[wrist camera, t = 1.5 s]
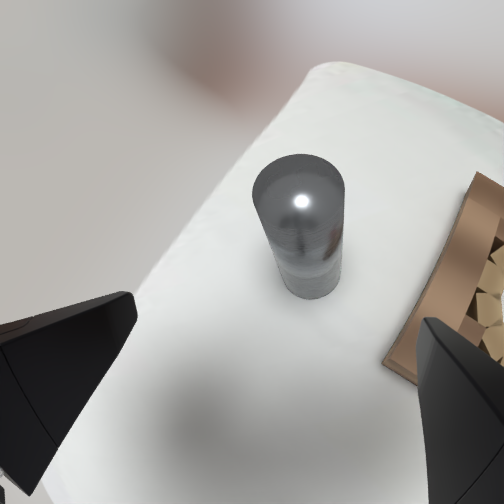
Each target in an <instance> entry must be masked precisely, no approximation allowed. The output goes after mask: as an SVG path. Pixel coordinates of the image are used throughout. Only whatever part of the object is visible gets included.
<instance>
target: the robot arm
mask: <svg viewBox="0 0 504 504" xmlns="http://www.w3.org/2000/svg"><path fill="white" fill-rule="evenodd" d="M137 318H138V314H137V309H136V305H135V300H134V296H133V294H132V293H130V292H125V291H119V292H116V293H112V294H109V295H105V296H102V297H98V298H95V299H91V300H88V301H84V302H81V303H77V304H74V305H70V306H67V307H64V308H60V309H56V310H53V311H49V312H46V313H42V314H39V315H35V316H34V317H28V318H25V319H21V320H17V321H14V322H10V323H6V324H2V325H0V478H1V477H2V476H3V475H4V476H5V477H6V478H7V479H9V480H10V481H11V482H12V483H13V484H14V485H16V486H17V487H18V488H19V489H21V490H22V491H23V492H24V493H25V494H27V495H28V496H31V494H32V493H33V491H34V490H35V488H36V486H37V484H38V483H39V481H40V479H41V477H42V476H43V474H44V472H45V471H46V469H47V467H48V465H49V464H50V462H51V460H52V459H53V457H54V455H55V454H56V452H57V450H58V448H59V447H60V445H61V443H62V442H63V440H64V438H65V437H66V435H67V434H68V432H69V430H70V429H71V427H72V425H73V424H74V422H75V421H76V419H77V417H78V416H79V414H80V413H81V411H82V410H83V408H84V406H85V405H86V403H87V402H88V400H89V399H90V397H91V396H92V394H93V392H94V391H95V389H96V388H97V386H98V385H99V383H100V382H101V380H102V379H103V377H104V376H105V374H106V373H107V371H108V370H109V368H110V367H111V365H112V364H113V362H114V361H115V359H116V358H117V356H118V354H119V353H120V351H121V349H122V347H123V345H124V344H125V342H126V340H127V338H128V336H129V334H130V332H131V331H132V329H133V327H134V325H135V323H136V321H137ZM416 361H417V380H418V396H419V403H420V410H421V418H422V425H423V434H424V443H425V453H426V464H427V478H428V498H429V504H504V367H503V366H502V365H501V364H499V363H498V362H497V361H495V360H494V359H493V358H491V357H490V356H489V355H488V354H486V353H485V352H484V351H482V350H481V349H479V348H478V347H477V346H475V345H474V344H473V343H471V342H470V341H469V340H467V339H466V338H465V337H463V336H462V335H460V334H459V333H458V332H456V331H455V330H454V329H452V328H451V327H449V326H448V325H447V324H445V323H444V322H442V321H441V320H440V319H438V318H437V317H424V318H423V319H422V321H421V324H420V329H419V333H418V337H417V341H416ZM4 493H5V492H4V488H3V487H2V486H1V485H0V504H5V494H4Z"/></svg>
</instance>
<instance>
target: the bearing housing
mask: <svg viewBox="0 0 504 504" xmlns="http://www.w3.org/2000/svg"><path fill="white" fill-rule="evenodd" d="M503 290H504V187H502V186H501V185H499V184H498V183H496V182H494V181H493V180H491V179H489V178H488V177H486V176H484V175H483V174H481V173H479V172H476V174H475V176H474V178H473V180H472V182H471V184H470V186H469V188H468V190H467V192H466V195H465V197H464V200H463V203H462V205H461V208H460V211H459V213H458V216H457V218H456V221H455V223H454V226H453V228H452V230H451V233H450V235H449V237H448V240H447V242H446V244H445V246H444V249H443V251H442V253H441V255H440V258H439V260H438V262H437V264H436V266H435V268H434V270H433V272H432V274H431V276H430V278H429V280H428V282H427V284H426V286H425V288H424V290H423V292H422V294H421V296H420V298H419V300H418V302H417V304H416V305H415V307H414V309H413V311H412V313H411V315H410V316H409V318H408V320H407V322H406V324H405V325H404V327H403V329H402V331H401V332H400V334H399V336H398V337H397V339H396V341H395V342H394V344H393V346H392V347H391V349H390V351H389V352H388V354H387V355H386V357H385V359H384V360H383V362H382V363H381V364H383V365H384V366H386V367H388V368H389V369H391V370H392V371H394V372H396V373H397V374H399V375H400V376H402V377H404V378H405V379H407V380H408V381H410V382H412V383H413V384H415V385H416V386H418V380H417V361H416V341H417V337H418V333H419V329H420V324H421V321H422V319H423V318H424V317H437V318H438V319H440V320H441V321H442V322H444V323H445V324H447V325H448V326H449V327H451V328H452V329H454V330H455V331H456V332H458V333H459V334H460V335H462V336H463V337H465V338H466V339H467V340H469V341H470V342H471V343H473V344H474V345H475V346H477V347H478V348H479V349H481V350H482V351H484V352H485V353H486V354H488V355H489V356H490V357H491V358H493V359H494V360H495V361H497V362H498V363H499V364H501V365H502V366H503V367H504V323H503V317H502V304H501V296H502V293H503Z"/></svg>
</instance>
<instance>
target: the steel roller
mask: <svg viewBox="0 0 504 504" xmlns="http://www.w3.org/2000/svg"><path fill="white" fill-rule="evenodd" d="M344 196H345V187H344V182H343V179H342V176H341V174H340V173H339V171H338V170H337V169H336V168H335V167H334V166H333V165H332V164H331V163H329V162H328V161H326V160H324V159H322V158H320V157H317V156H313V155H308V154H294V155H289V156H285V157H282V158H279V159H277V160H275V161H273V162H272V163H270V164H269V165H267V166H266V167H265V168H264V169H263V170H262V171H261V172H260V174H259V175H258V177H257V178H256V180H255V183H254V186H253V191H252V198H253V203H254V206H255V208H256V211H257V213H258V216H259V218H260V221H261V223H262V226H263V228H264V231H265V233H266V236H267V239H268V241H269V244H270V246H271V249H272V251H273V254H274V257H275V259H276V262H277V264H278V267H279V269H280V272H281V275H282V277H283V280H284V282H285V284H286V286H287V288H288V289H289V290H290V291H291V292H292V293H293V294H295V295H296V296H298V297H301V298H304V299H318V298H321V297H324V296H326V295H327V294H329V293H330V292H331V291H332V290H333V289H334V288H335V287H336V285H337V284H338V281H339V279H340V273H341V259H342V243H343V224H344Z"/></svg>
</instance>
